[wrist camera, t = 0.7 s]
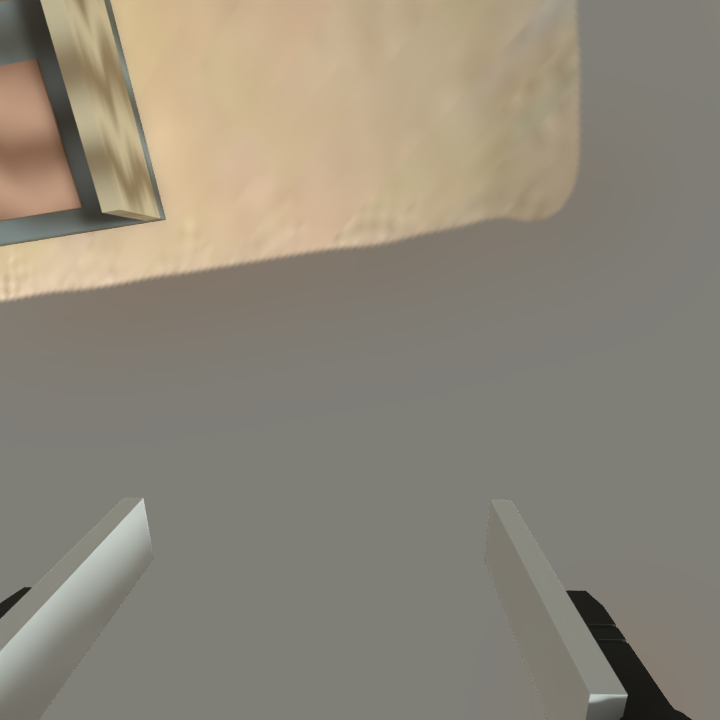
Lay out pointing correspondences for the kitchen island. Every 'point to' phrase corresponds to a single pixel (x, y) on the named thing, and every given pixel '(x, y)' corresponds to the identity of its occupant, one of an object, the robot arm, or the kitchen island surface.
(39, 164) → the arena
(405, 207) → the kitchen island surface
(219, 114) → the kitchen island surface
